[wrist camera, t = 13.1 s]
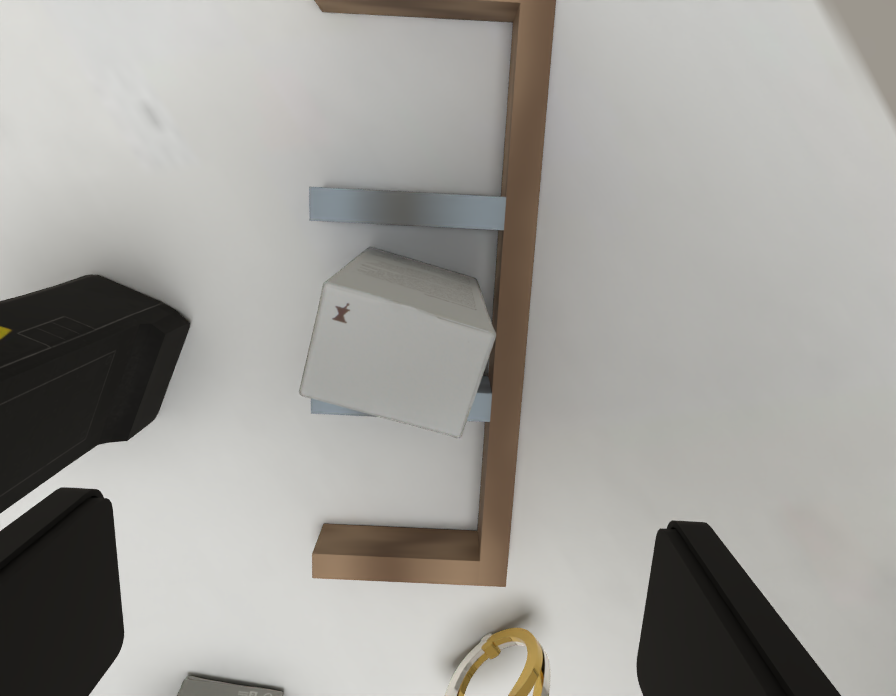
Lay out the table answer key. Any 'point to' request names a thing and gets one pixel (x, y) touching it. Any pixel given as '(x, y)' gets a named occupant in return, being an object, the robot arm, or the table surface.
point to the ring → (490, 647)
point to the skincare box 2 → (400, 342)
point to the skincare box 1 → (221, 689)
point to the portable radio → (78, 374)
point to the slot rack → (501, 391)
